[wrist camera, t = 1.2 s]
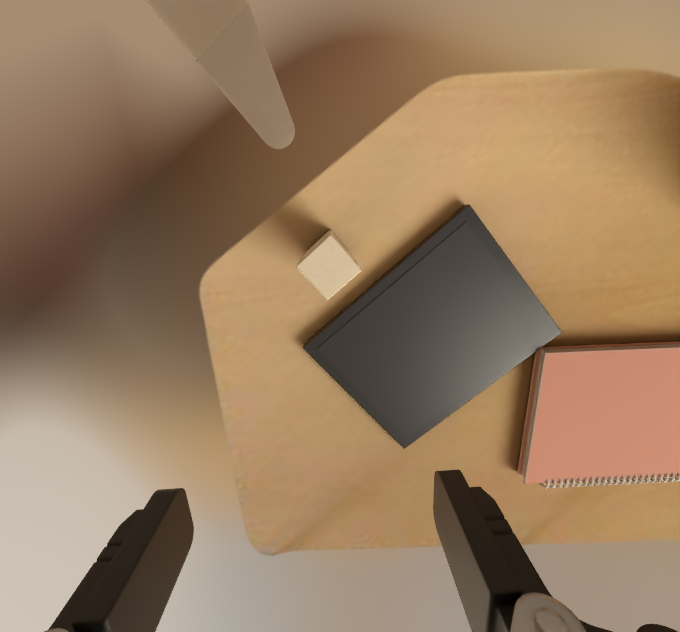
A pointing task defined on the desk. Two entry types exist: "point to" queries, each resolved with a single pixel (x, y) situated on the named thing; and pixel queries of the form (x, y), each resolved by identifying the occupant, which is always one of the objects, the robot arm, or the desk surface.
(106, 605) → the robot arm
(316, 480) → the desk surface
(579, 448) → the notebook
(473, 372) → the tablet
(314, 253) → the cream wooden block
